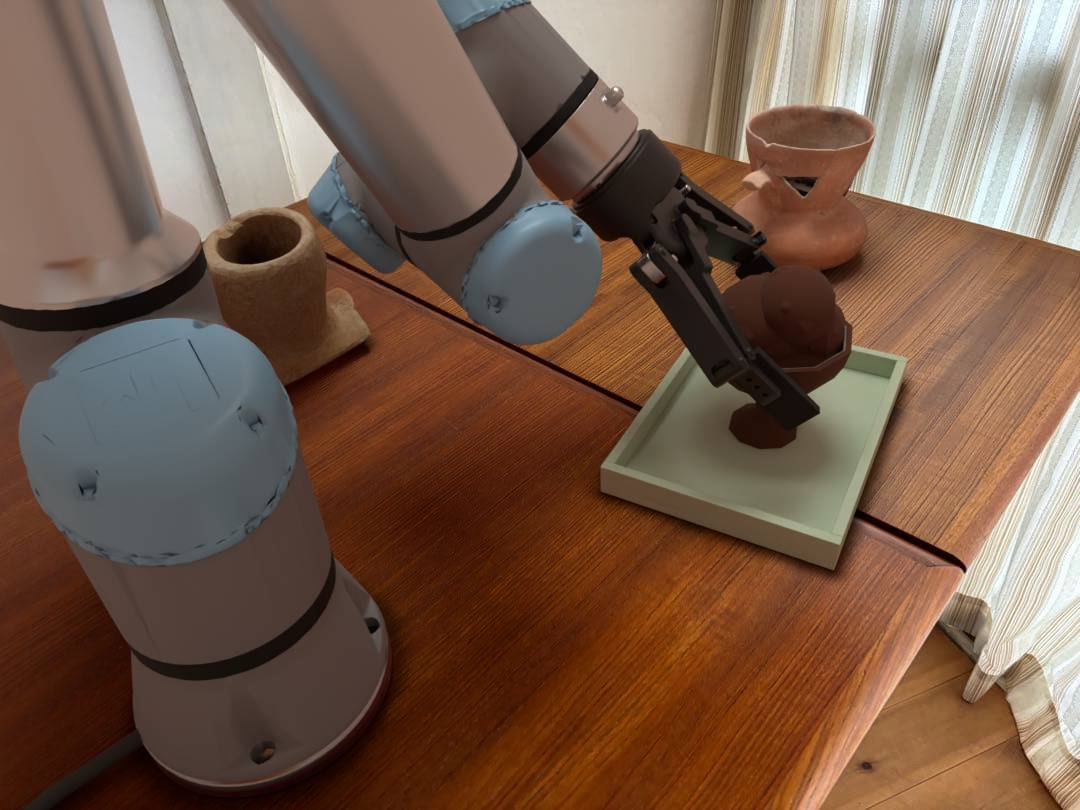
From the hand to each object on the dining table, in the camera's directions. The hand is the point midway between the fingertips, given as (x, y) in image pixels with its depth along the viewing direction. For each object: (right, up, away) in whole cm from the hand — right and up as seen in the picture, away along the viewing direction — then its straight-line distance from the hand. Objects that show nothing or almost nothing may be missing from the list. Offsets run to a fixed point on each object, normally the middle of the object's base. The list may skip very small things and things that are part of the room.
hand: (802, 363), depth 64 cm
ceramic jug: (+8, +13, +28) cm, 32 cm away
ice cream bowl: (-2, -5, +5) cm, 7 cm away
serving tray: (-2, -5, +5) cm, 8 cm away
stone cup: (-42, +1, +17) cm, 46 cm away
